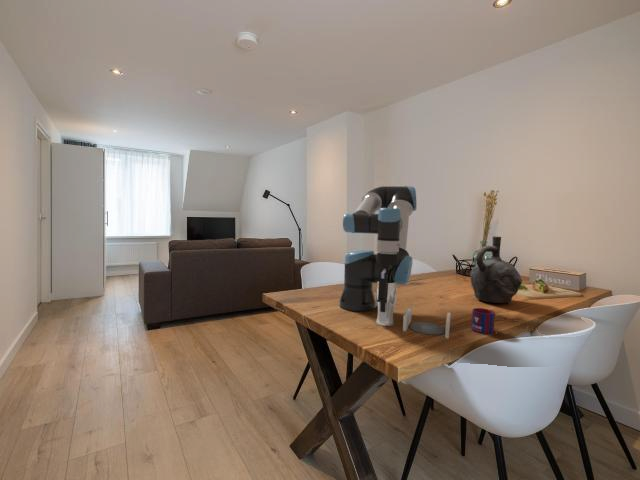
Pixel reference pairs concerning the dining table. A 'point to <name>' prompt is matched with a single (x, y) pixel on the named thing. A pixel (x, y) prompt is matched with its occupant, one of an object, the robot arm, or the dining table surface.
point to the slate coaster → (427, 328)
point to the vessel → (494, 276)
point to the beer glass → (391, 303)
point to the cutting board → (543, 291)
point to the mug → (483, 320)
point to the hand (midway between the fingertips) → (385, 317)
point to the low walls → (408, 319)
